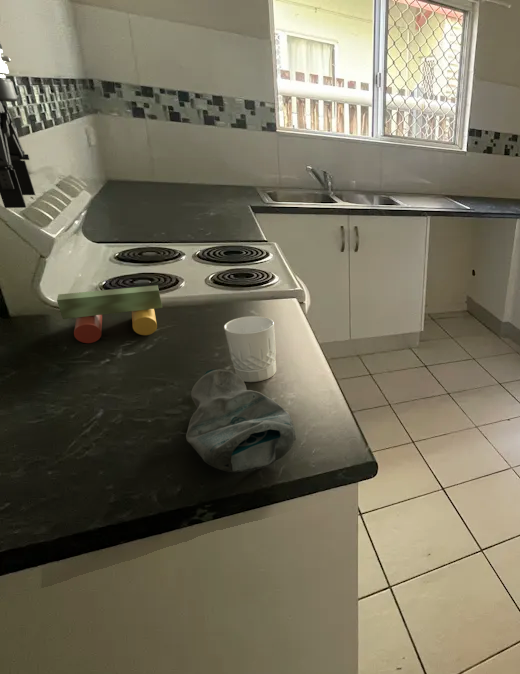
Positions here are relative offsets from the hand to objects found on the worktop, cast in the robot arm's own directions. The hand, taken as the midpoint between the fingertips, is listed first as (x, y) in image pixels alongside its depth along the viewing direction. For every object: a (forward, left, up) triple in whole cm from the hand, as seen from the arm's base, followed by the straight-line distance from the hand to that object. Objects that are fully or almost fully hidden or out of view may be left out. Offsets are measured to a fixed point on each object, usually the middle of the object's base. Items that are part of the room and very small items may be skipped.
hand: (21, 201), depth 90 cm
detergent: (+24, -58, -25) cm, 68 cm away
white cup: (+30, -41, -25) cm, 57 cm away
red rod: (+6, -9, -25) cm, 27 cm away
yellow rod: (+14, -9, -25) cm, 30 cm away
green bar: (+10, -9, -21) cm, 25 cm away
